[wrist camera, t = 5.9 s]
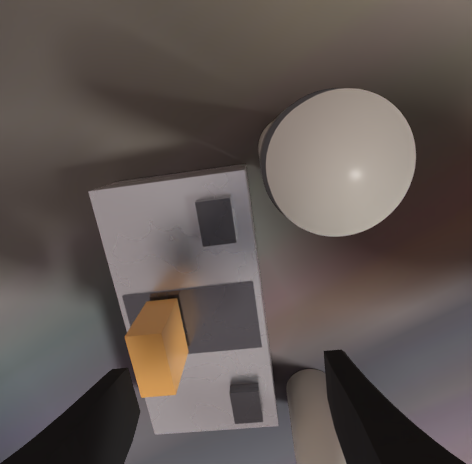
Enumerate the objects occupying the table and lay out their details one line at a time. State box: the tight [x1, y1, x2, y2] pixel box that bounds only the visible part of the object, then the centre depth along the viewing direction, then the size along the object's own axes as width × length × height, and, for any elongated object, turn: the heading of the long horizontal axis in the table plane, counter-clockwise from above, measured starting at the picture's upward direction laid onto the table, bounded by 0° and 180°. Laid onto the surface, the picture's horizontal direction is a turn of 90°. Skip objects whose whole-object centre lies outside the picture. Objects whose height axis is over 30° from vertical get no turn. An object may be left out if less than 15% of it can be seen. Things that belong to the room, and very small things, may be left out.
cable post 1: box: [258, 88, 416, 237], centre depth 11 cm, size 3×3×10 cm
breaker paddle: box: [125, 298, 189, 398], centre depth 14 cm, size 2×3×3 cm, turn 8°
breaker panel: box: [88, 164, 278, 434], centre depth 17 cm, size 7×14×4 cm, turn 8°
